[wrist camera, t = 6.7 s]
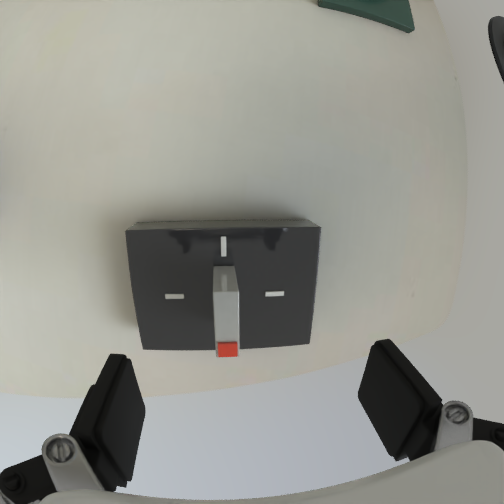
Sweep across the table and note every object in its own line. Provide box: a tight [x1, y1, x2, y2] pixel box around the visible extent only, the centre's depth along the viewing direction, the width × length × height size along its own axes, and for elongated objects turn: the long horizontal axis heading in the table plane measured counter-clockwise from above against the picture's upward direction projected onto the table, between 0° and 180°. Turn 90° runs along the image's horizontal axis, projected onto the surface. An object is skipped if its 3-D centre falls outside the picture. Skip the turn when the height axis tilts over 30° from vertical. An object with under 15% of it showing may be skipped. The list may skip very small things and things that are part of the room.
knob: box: [213, 266, 240, 357], centre depth 19 cm, size 5×2×5 cm, turn 179°
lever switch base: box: [125, 220, 321, 350], centre depth 22 cm, size 14×10×3 cm
